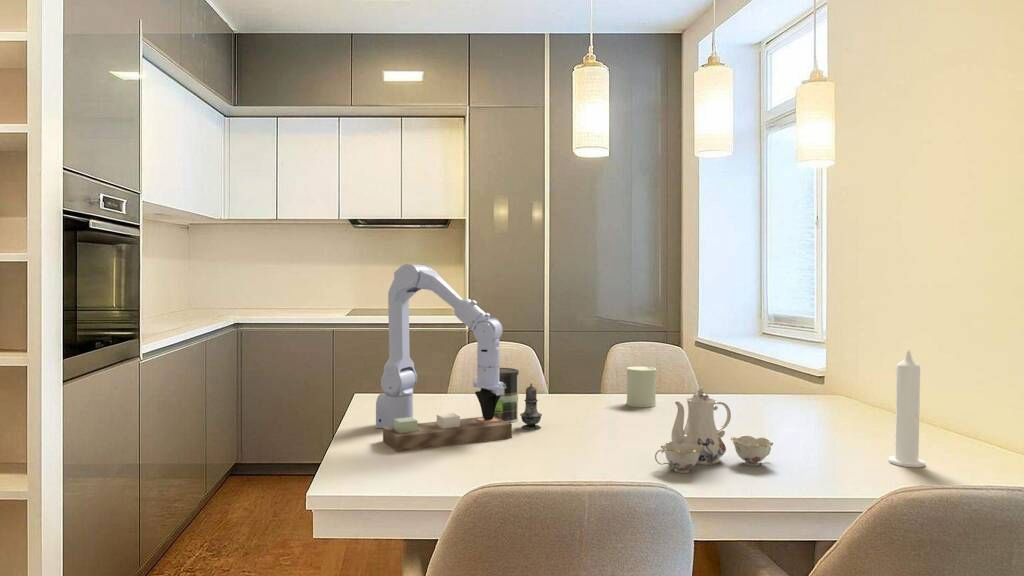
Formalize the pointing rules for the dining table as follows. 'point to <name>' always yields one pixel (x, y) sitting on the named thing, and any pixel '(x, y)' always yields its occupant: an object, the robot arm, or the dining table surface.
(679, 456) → the chinaware
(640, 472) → the dining table surface
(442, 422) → the offwhite key
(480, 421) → the terracotta key
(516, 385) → the coffee can
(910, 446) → the candle
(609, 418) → the dining table surface
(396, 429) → the sage key
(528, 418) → the salt shaker
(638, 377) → the can
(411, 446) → the brown long flat block
